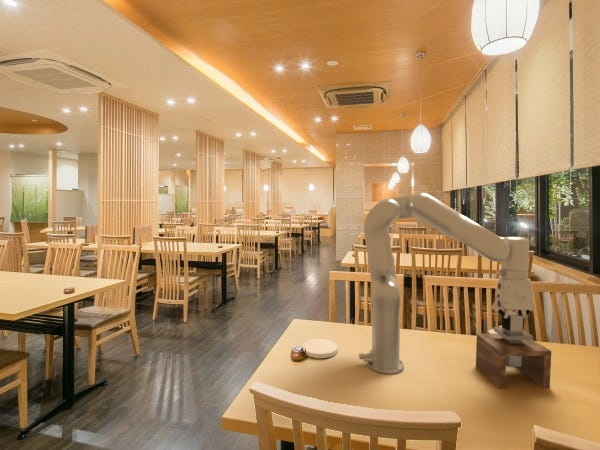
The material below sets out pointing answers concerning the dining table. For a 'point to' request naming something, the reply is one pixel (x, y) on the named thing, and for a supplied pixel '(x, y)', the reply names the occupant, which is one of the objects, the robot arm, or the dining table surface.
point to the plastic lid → (320, 348)
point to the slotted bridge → (495, 351)
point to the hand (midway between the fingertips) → (512, 328)
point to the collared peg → (514, 337)
